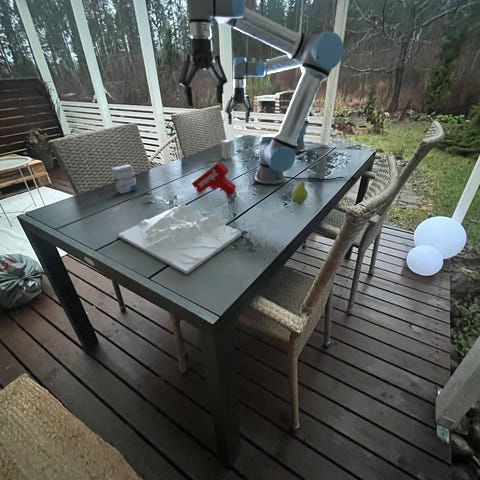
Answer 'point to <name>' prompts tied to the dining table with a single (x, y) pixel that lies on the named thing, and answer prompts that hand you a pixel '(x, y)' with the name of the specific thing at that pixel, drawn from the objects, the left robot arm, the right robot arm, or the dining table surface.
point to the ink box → (124, 178)
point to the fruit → (300, 192)
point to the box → (226, 149)
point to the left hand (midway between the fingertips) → (205, 104)
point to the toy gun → (215, 180)
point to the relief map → (181, 237)
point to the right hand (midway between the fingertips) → (238, 123)
